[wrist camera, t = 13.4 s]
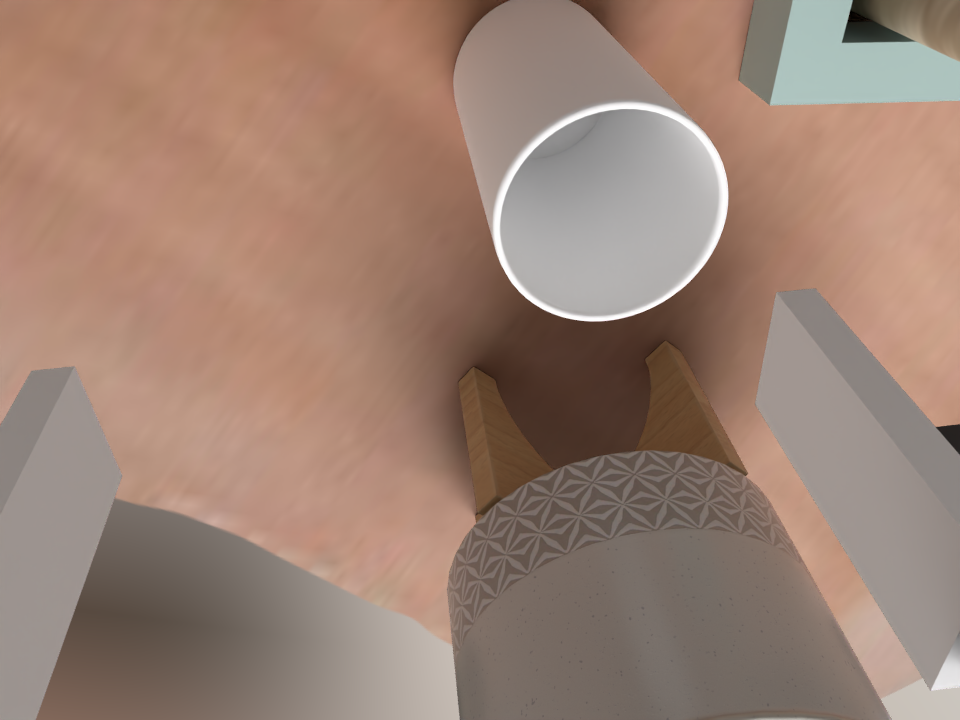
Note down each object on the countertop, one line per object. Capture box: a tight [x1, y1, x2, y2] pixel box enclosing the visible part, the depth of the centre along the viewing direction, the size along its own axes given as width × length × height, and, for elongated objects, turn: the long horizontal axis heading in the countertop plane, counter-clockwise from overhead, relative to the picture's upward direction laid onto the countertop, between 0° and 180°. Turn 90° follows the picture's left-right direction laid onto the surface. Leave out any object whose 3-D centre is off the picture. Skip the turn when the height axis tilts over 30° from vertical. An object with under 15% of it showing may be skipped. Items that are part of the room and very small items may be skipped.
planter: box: [447, 341, 892, 720], centre depth 44 cm, size 19×19×26 cm
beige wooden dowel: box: [850, 0, 960, 62], centre depth 33 cm, size 3×3×16 cm
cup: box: [453, 0, 728, 321], centre depth 34 cm, size 8×8×16 cm
